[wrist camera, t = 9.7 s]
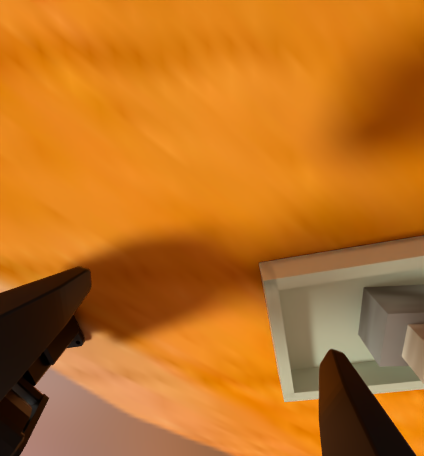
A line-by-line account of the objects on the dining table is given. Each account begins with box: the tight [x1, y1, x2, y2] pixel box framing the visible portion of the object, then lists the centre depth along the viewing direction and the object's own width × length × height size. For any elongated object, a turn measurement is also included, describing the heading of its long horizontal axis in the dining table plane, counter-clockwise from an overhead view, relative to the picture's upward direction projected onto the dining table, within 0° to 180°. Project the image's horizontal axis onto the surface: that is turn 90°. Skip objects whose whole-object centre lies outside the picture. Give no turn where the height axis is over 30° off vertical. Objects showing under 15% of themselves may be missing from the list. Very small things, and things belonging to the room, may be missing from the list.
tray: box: [259, 235, 424, 402], centre depth 22 cm, size 16×13×3 cm
